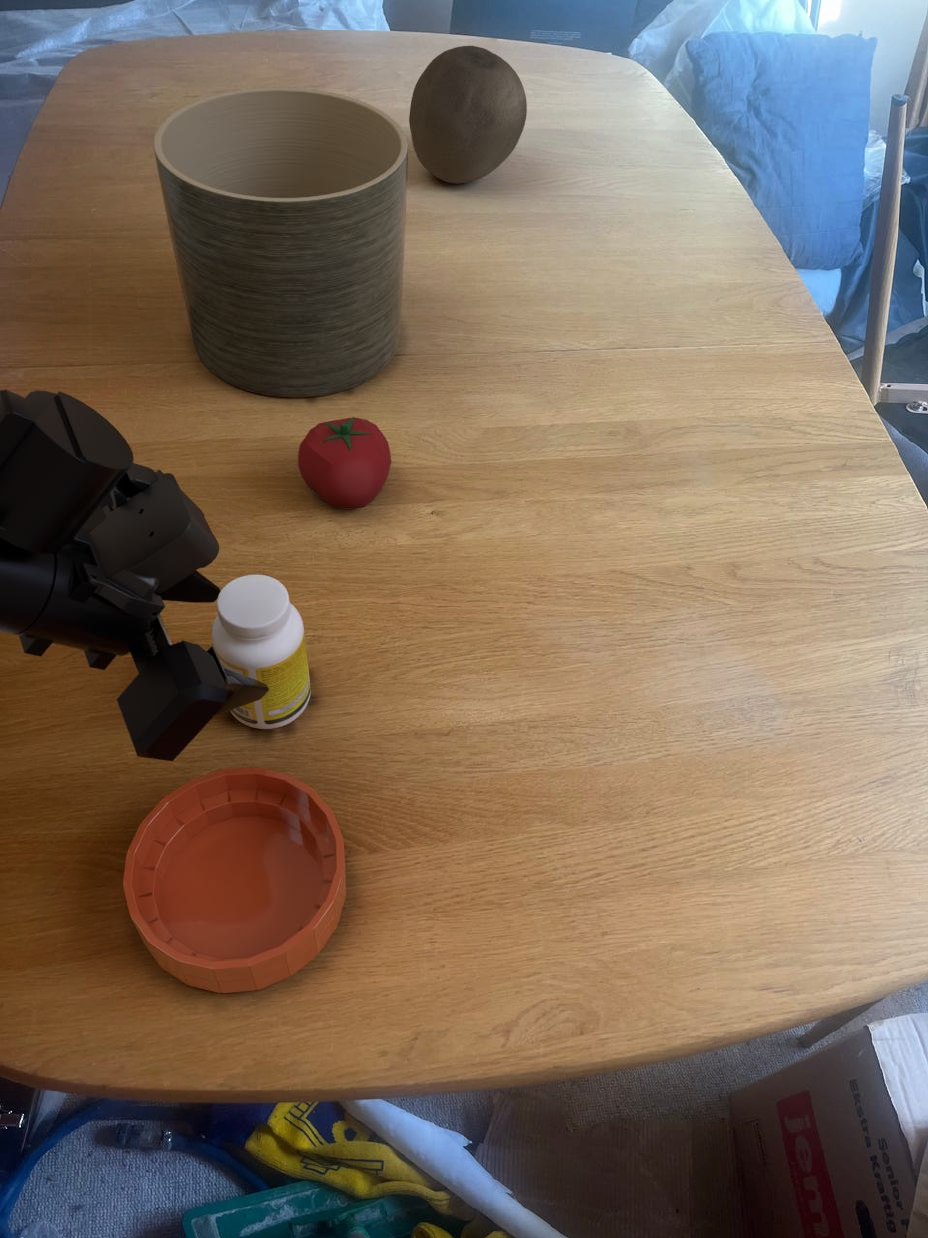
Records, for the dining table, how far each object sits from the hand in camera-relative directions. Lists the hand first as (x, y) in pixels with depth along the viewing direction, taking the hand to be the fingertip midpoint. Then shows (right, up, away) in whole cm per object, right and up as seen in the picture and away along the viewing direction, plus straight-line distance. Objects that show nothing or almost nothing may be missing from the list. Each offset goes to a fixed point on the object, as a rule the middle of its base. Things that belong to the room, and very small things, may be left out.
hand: (240, 642), depth 65 cm
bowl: (+1, -16, -4) cm, 16 cm away
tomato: (+5, +13, +21) cm, 25 cm away
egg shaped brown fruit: (+15, +59, +60) cm, 86 cm away
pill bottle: (+1, -4, +6) cm, 8 cm away
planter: (-2, +31, +35) cm, 47 cm away
